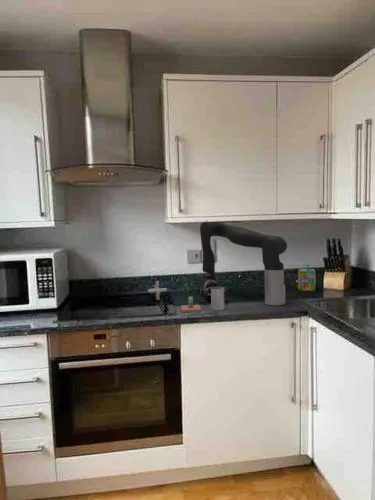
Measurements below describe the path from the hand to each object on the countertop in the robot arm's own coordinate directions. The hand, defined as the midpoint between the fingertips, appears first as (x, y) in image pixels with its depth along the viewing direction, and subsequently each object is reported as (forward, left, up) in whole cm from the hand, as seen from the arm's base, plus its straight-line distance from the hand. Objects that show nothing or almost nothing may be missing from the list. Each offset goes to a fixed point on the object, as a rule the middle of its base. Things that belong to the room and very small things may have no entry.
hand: (216, 293), depth 184 cm
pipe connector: (+29, -21, -6) cm, 36 cm away
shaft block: (+13, +5, -6) cm, 15 cm away
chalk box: (-57, -28, -6) cm, 64 cm away
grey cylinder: (0, +5, -6) cm, 8 cm away
